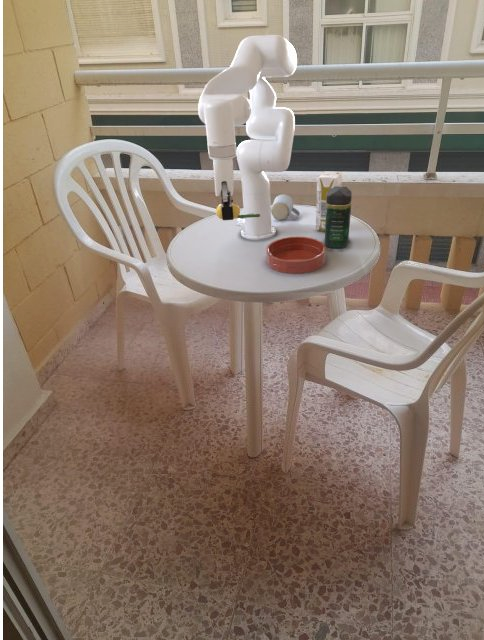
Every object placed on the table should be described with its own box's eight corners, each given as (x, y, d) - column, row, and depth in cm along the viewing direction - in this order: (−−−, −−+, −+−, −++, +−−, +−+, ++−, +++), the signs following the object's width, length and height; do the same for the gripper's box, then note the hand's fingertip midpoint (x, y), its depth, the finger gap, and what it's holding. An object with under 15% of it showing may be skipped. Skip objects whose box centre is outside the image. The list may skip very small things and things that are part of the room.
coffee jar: (347, 251, 147) (351, 194, 137) (322, 249, 149) (324, 193, 138) (349, 238, 155) (353, 184, 144) (326, 237, 157) (328, 183, 146)
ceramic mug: (270, 220, 172) (270, 201, 168) (274, 213, 179) (273, 193, 174) (298, 222, 170) (298, 201, 166) (301, 214, 177) (301, 194, 172)
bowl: (256, 268, 141) (255, 255, 138) (283, 245, 154) (282, 233, 151) (310, 279, 133) (311, 266, 130) (334, 254, 146) (334, 241, 143)
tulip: (216, 222, 131) (214, 207, 129) (217, 216, 135) (215, 201, 132) (260, 219, 131) (259, 204, 128) (259, 213, 135) (259, 199, 132)
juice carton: (314, 231, 162) (315, 177, 151) (320, 222, 168) (322, 170, 157) (335, 233, 159) (337, 178, 148) (340, 224, 166) (343, 171, 155)
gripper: (210, 144, 129) (217, 207, 139) (206, 159, 115) (214, 228, 126) (236, 143, 129) (241, 206, 139) (235, 158, 115) (240, 226, 125)
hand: (228, 215), depth 132 cm, fingers closed on tulip, 4 cm apart
